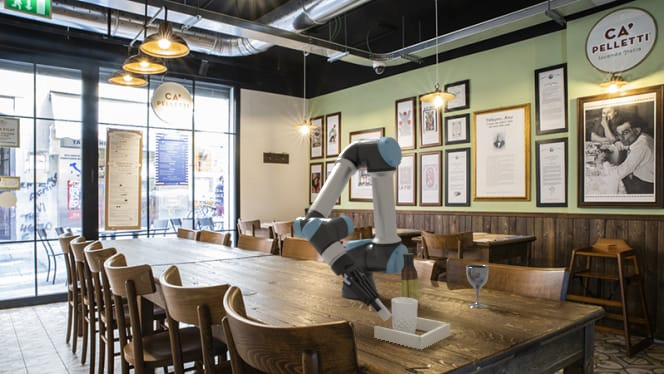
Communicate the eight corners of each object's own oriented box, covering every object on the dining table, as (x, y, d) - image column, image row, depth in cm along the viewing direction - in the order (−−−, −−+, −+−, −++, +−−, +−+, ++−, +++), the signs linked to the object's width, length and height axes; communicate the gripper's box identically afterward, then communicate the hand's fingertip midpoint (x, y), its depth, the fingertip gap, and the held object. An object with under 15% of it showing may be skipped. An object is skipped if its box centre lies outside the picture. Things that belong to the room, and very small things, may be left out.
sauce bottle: (420, 305, 169) (420, 252, 170) (416, 309, 164) (416, 254, 164) (403, 303, 172) (403, 252, 172) (399, 307, 166) (399, 253, 167)
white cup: (417, 338, 130) (418, 304, 130) (390, 336, 131) (391, 302, 132) (416, 330, 138) (417, 298, 138) (390, 328, 139) (391, 296, 139)
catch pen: (374, 338, 130) (374, 326, 130) (405, 325, 143) (405, 314, 143) (421, 350, 120) (421, 337, 120) (450, 335, 133) (450, 323, 133)
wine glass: (463, 303, 172) (463, 264, 172) (483, 303, 173) (483, 264, 173) (471, 309, 164) (471, 268, 164) (492, 308, 165) (492, 267, 165)
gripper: (339, 264, 150) (387, 320, 142) (322, 270, 138) (372, 331, 131) (354, 249, 148) (403, 306, 140) (337, 253, 136) (389, 315, 129)
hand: (388, 318), depth 135 cm, fingers closed
